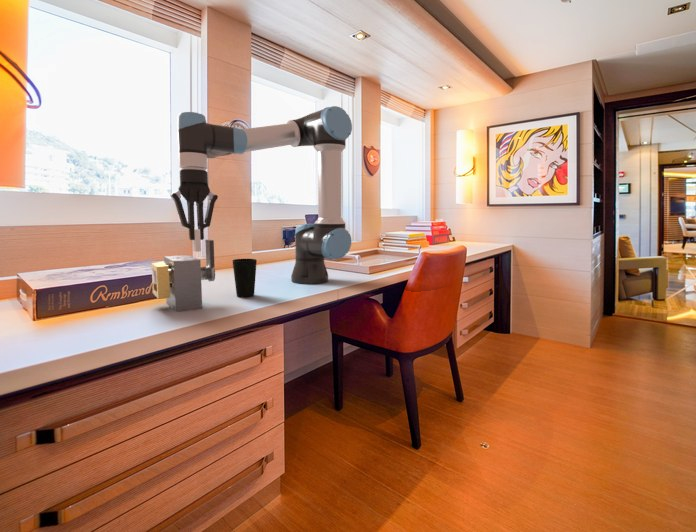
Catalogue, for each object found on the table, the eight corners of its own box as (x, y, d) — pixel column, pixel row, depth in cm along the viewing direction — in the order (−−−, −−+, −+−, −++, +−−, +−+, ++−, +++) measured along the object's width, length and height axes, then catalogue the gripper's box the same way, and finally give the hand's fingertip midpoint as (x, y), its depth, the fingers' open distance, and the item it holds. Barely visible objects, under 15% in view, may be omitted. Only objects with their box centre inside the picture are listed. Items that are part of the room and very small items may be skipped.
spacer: (164, 292, 111) (162, 262, 110) (170, 297, 104) (168, 265, 103) (153, 293, 110) (151, 263, 108) (158, 299, 102) (156, 266, 101)
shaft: (210, 279, 117) (209, 239, 115) (215, 282, 113) (214, 240, 111) (152, 284, 108) (150, 241, 106) (155, 287, 103) (153, 242, 102)
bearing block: (190, 299, 118) (188, 255, 117) (202, 308, 107) (200, 259, 105) (166, 301, 114) (163, 256, 112) (176, 311, 103) (173, 261, 101)
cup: (250, 298, 120) (250, 261, 118) (229, 297, 121) (227, 260, 120) (261, 294, 127) (260, 259, 126) (240, 292, 129) (239, 258, 127)
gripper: (212, 172, 115) (215, 249, 118) (166, 169, 107) (170, 251, 110) (220, 170, 109) (223, 251, 112) (171, 166, 101) (176, 253, 104)
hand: (197, 251), depth 111 cm, fingers closed
